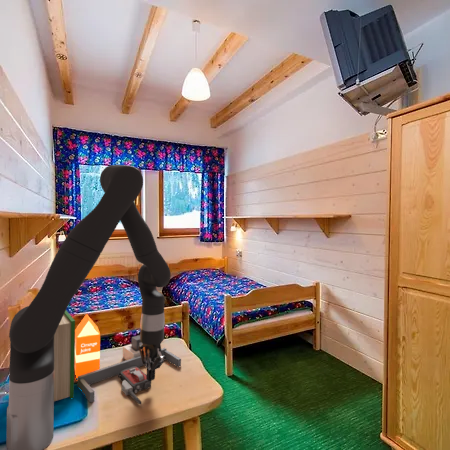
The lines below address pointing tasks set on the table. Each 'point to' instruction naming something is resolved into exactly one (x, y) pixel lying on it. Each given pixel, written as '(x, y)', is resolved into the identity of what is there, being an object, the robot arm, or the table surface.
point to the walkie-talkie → (133, 382)
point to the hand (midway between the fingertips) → (150, 379)
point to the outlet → (129, 352)
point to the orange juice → (87, 347)
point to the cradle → (116, 372)
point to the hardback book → (64, 358)
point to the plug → (136, 343)
